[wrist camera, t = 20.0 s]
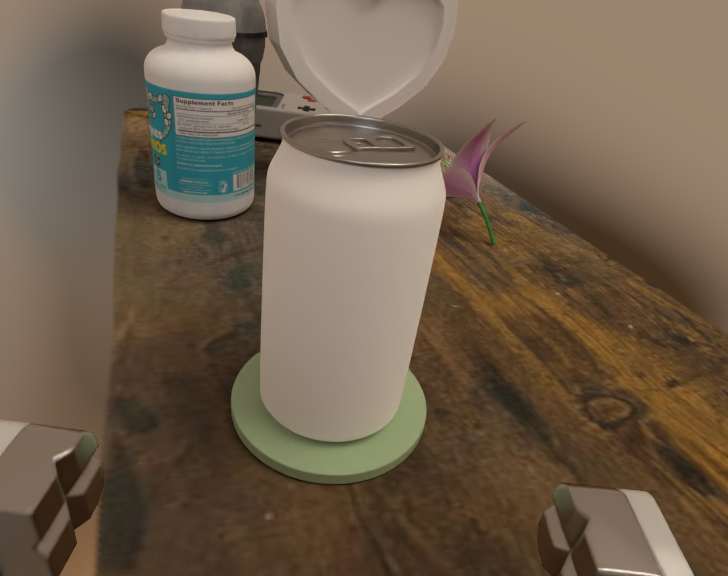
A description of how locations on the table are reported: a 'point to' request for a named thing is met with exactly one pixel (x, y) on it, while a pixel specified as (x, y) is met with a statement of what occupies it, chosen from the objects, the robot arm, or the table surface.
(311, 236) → the can
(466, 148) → the lily
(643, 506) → the robot arm
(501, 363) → the table surface
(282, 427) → the coaster
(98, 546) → the table surface
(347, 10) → the heart sculpture
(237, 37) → the beverage cup
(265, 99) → the handheld gaming device
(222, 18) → the pill bottle
